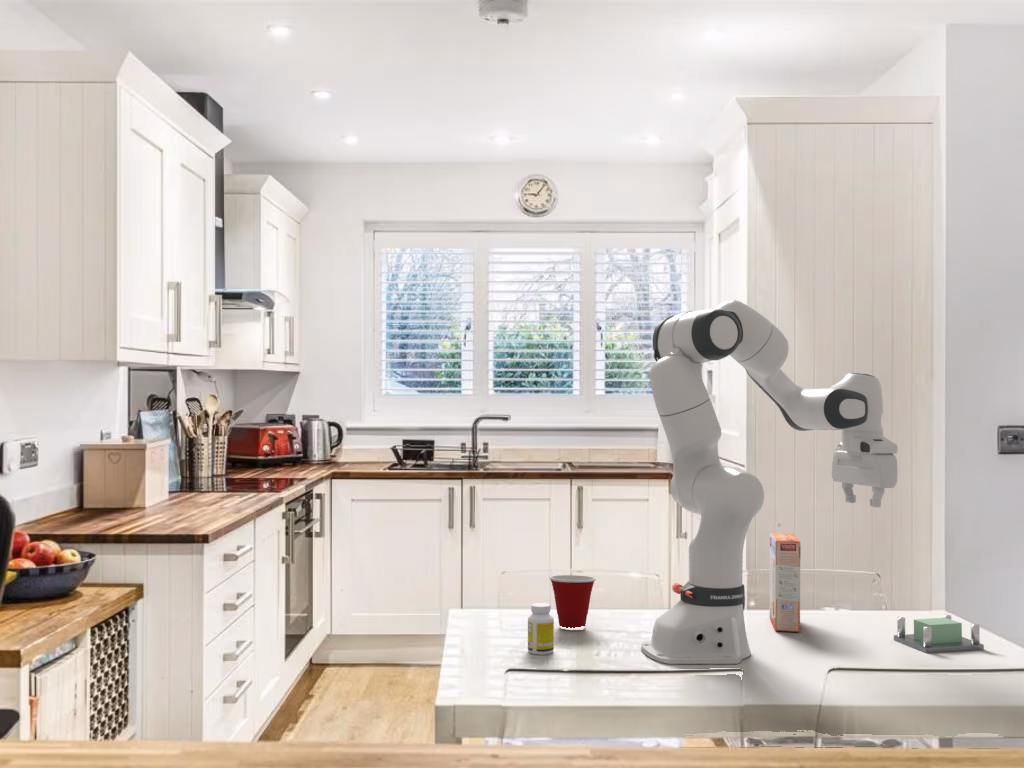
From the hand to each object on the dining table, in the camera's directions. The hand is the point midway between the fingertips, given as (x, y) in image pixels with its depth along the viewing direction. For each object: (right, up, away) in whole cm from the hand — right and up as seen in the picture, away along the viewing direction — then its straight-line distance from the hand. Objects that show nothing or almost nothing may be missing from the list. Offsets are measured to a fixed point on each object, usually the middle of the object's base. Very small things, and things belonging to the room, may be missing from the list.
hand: (862, 504), depth 200 cm
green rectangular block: (+12, -28, -10) cm, 32 cm away
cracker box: (-16, -30, +6) cm, 34 cm away
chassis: (+12, -29, -10) cm, 33 cm away
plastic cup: (-66, -29, +3) cm, 72 cm away
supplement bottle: (-74, -29, -18) cm, 82 cm away
